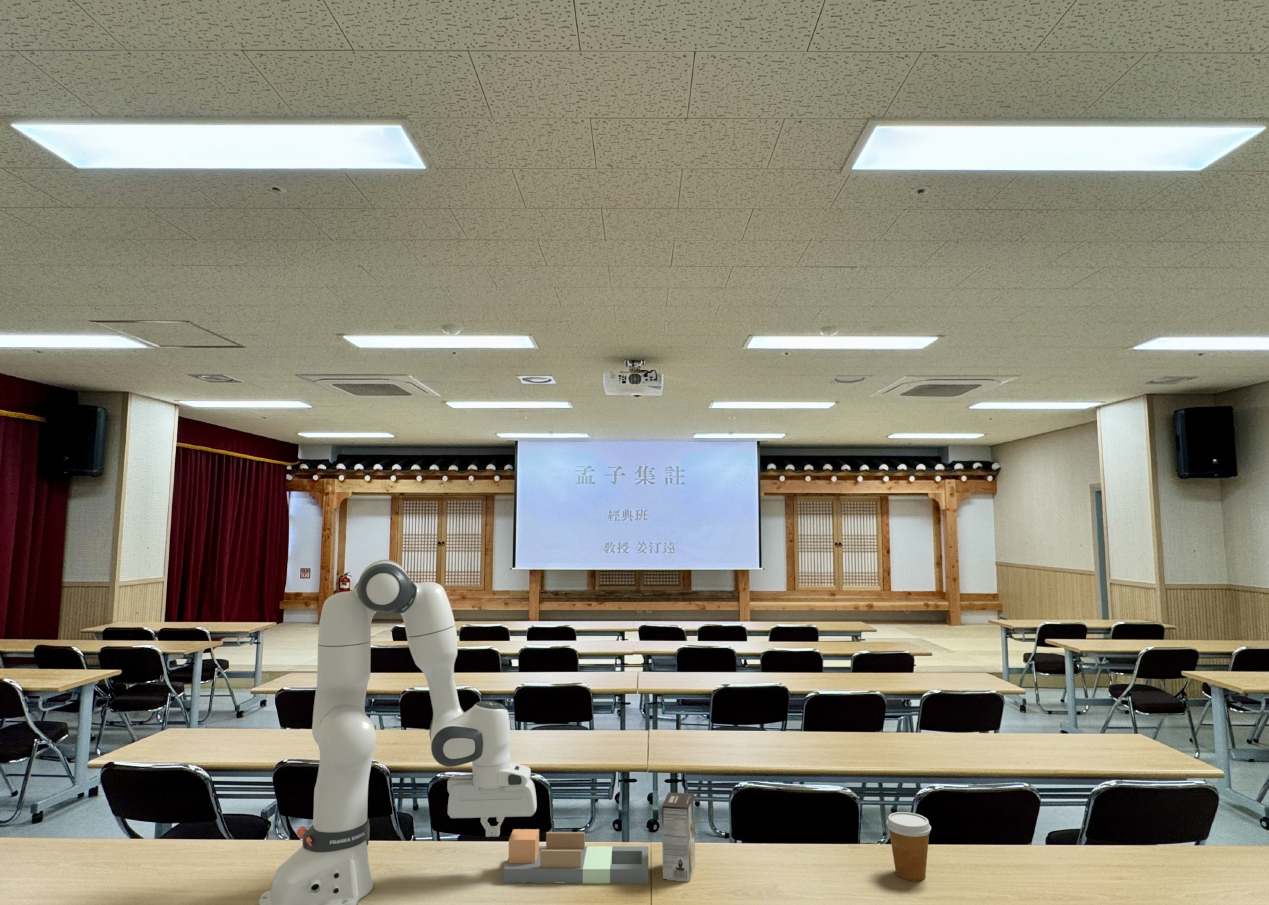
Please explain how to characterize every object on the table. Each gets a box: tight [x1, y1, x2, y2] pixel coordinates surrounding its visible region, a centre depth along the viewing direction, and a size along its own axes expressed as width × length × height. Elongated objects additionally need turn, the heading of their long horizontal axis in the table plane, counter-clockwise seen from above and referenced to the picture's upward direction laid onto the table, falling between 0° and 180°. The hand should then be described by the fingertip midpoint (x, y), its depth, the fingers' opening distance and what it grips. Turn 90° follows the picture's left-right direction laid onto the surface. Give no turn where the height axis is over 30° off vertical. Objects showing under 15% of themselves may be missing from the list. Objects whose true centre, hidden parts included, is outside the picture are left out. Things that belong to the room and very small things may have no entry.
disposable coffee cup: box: [886, 811, 932, 882], centre depth 171 cm, size 10×10×12 cm
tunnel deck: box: [503, 831, 650, 884], centre depth 174 cm, size 32×12×6 cm, turn 89°
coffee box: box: [661, 792, 696, 883], centre depth 173 cm, size 9×6×16 cm
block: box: [508, 828, 540, 863], centre depth 174 cm, size 6×6×5 cm
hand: (492, 835), depth 175 cm, fingers closed
